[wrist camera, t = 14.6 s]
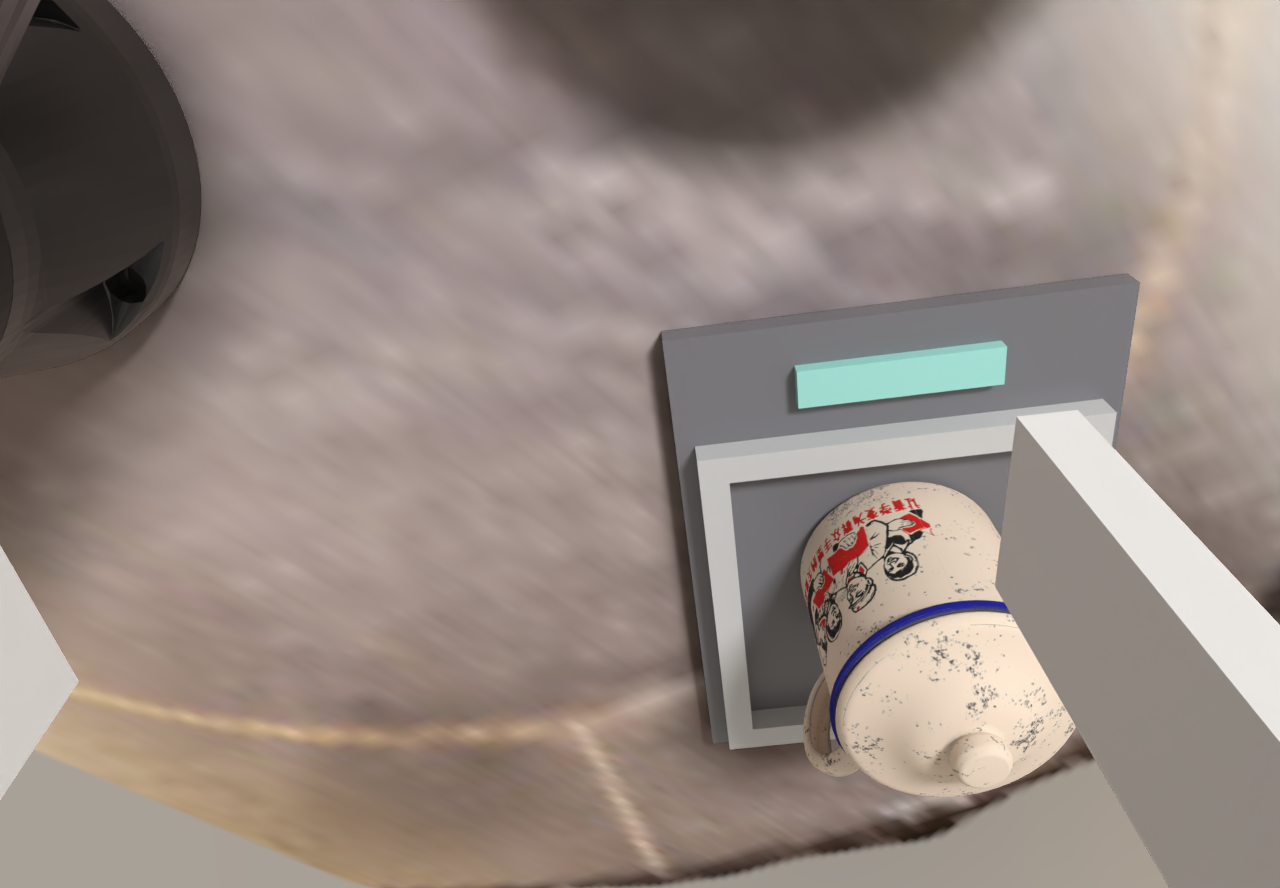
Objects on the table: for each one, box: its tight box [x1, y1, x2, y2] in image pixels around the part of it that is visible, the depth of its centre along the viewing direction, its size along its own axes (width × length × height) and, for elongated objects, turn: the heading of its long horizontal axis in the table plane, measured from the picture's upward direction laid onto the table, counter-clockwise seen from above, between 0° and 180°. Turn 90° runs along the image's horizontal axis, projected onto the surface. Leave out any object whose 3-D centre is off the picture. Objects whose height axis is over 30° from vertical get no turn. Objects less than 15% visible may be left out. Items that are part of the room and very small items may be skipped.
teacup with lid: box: [800, 482, 1076, 797], centre depth 36 cm, size 12×9×12 cm
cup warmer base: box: [661, 274, 1140, 750], centre depth 40 cm, size 18×22×2 cm
